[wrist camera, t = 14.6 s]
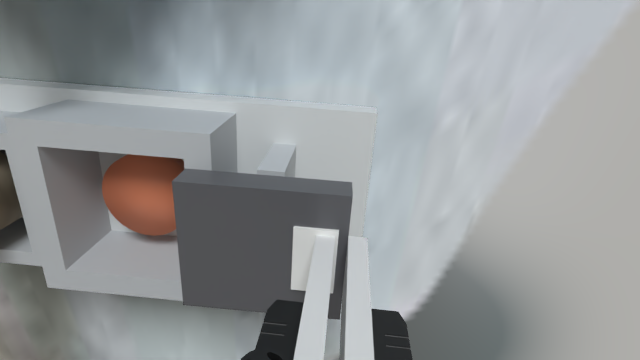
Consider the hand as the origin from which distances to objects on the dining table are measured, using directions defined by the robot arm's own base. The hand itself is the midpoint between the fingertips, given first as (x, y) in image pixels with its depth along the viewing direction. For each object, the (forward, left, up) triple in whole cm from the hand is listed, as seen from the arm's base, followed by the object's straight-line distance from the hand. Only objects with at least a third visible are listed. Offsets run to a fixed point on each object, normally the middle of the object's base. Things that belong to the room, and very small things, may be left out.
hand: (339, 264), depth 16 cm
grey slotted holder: (-10, 0, -7) cm, 13 cm away
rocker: (-3, 0, -1) cm, 3 cm away
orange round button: (-10, 0, -6) cm, 12 cm away
